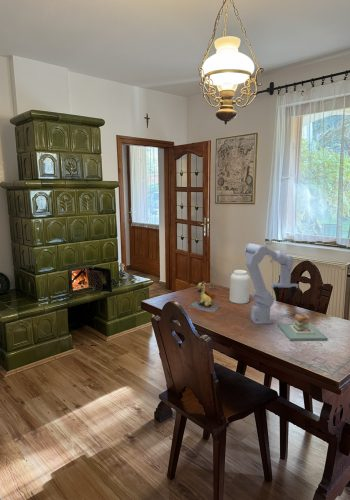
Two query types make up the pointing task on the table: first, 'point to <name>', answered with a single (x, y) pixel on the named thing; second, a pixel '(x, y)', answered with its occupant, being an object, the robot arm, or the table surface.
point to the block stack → (301, 323)
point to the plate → (302, 333)
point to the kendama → (208, 293)
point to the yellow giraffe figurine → (204, 299)
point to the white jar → (239, 287)
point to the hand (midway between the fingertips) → (283, 299)
